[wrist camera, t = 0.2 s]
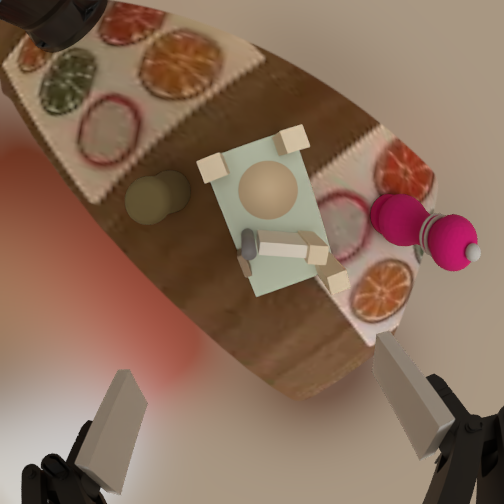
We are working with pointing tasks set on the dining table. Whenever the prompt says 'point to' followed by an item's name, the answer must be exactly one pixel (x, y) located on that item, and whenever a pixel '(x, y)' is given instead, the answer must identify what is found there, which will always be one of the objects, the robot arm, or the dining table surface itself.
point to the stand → (270, 208)
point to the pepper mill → (426, 230)
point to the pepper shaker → (157, 196)
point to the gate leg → (293, 245)
